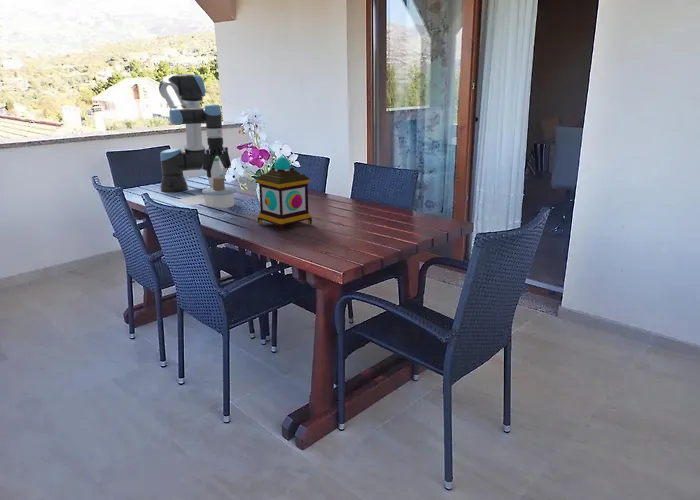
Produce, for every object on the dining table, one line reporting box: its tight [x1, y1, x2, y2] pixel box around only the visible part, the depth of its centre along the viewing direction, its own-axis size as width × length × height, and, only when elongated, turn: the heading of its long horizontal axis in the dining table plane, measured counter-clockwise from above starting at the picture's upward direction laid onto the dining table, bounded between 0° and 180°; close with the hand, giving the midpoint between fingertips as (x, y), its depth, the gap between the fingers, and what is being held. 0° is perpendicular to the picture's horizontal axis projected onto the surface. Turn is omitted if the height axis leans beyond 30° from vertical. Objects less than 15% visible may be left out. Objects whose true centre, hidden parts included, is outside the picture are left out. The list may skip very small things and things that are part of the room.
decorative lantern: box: [255, 156, 313, 233], centre depth 220 cm, size 20×20×30 cm
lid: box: [201, 177, 237, 195], centre depth 256 cm, size 17×17×7 cm
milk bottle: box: [209, 156, 223, 188], centre depth 286 cm, size 8×8×20 cm
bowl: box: [204, 193, 235, 209], centre depth 259 cm, size 14×14×7 cm
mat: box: [173, 194, 206, 206], centre depth 270 cm, size 18×18×1 cm
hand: (218, 182), depth 256 cm, fingers open, 9 cm apart
